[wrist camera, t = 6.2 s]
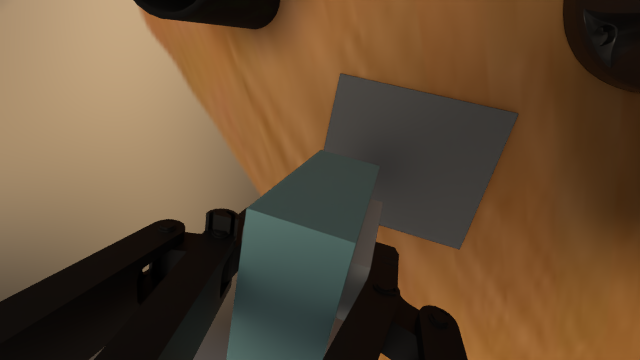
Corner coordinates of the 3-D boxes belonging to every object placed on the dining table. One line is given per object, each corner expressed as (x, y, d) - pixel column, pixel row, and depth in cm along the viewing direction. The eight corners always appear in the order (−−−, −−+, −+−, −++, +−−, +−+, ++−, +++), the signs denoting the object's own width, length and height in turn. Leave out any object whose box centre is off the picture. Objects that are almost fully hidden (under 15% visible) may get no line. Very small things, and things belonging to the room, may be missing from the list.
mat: (341, 73, 29) (340, 73, 29) (517, 113, 27) (518, 113, 26) (312, 202, 34) (311, 204, 34) (458, 247, 32) (459, 249, 31)
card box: (297, 250, 20) (221, 366, 12) (318, 149, 18) (242, 206, 10) (350, 268, 20) (309, 403, 11) (379, 166, 17) (355, 243, 9)
